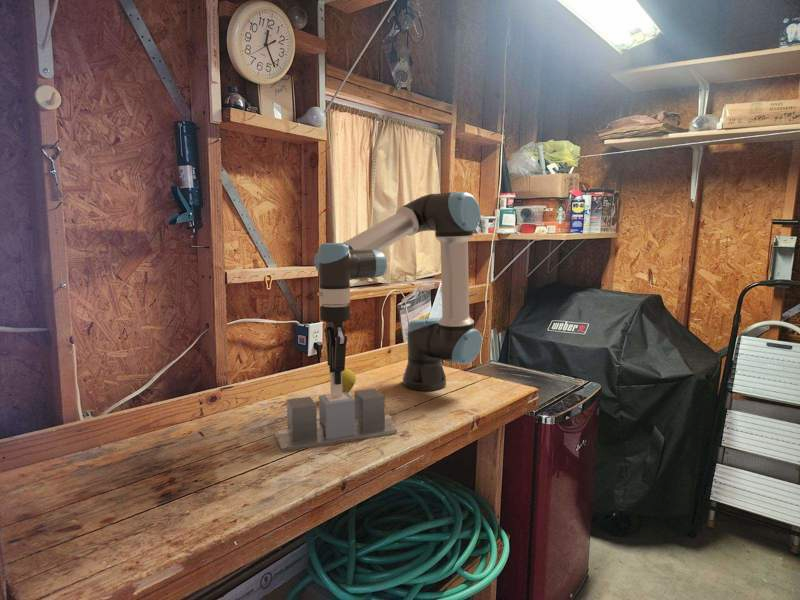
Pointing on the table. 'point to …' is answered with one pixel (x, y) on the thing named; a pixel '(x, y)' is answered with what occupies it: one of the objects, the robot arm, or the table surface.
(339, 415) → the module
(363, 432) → the grey block holder
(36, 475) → the table surface
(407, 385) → the robot arm
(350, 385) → the light bulb
